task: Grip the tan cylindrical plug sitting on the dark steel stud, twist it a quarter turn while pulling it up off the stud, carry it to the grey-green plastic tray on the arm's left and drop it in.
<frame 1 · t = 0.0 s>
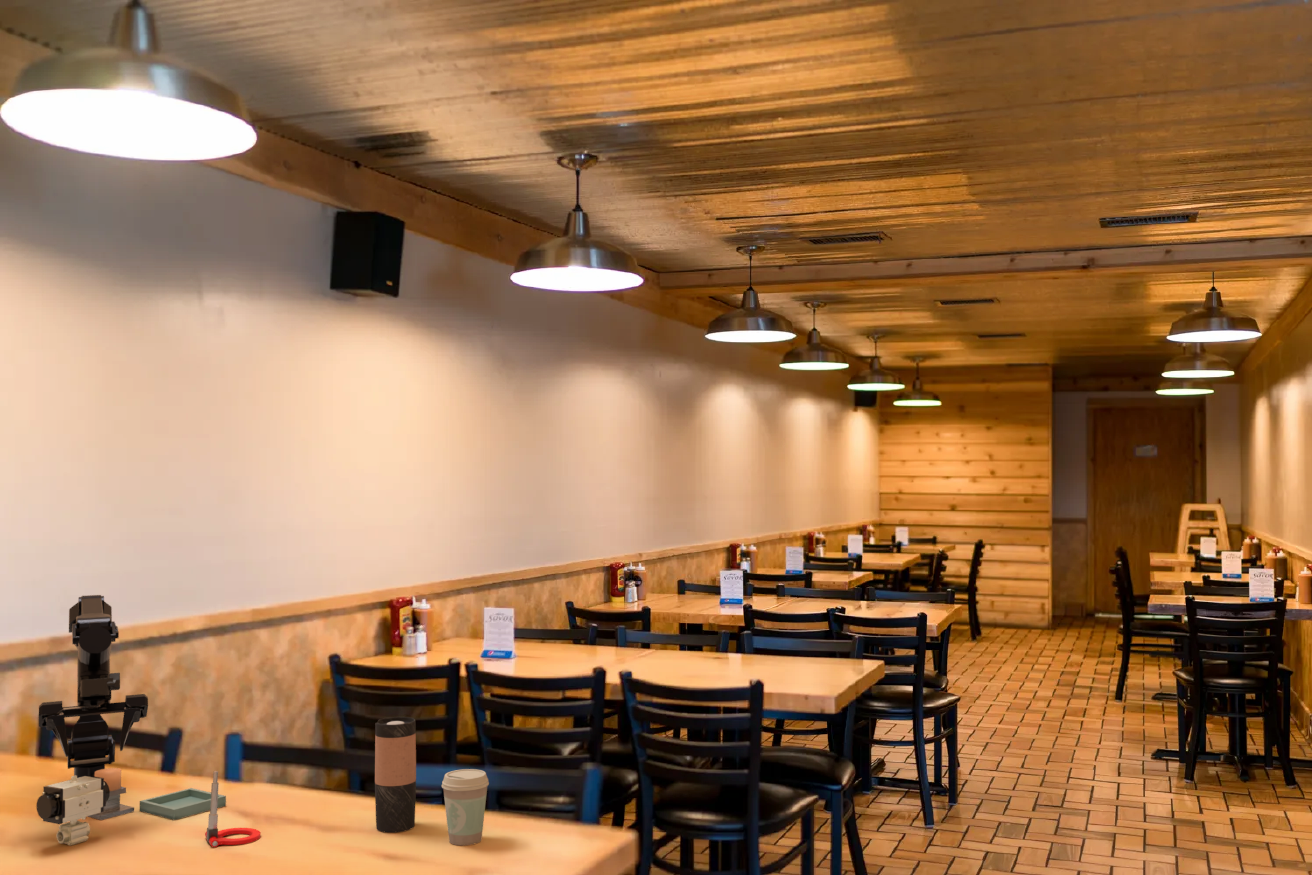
hand: (94, 752, 216), 15 cm above the table, tool tilted 35°, fingers open, 9 cm apart
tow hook: (233, 840, 211), on the table
travel mug: (395, 828, 217), on the table
pneumatic valve: (74, 843, 209), on the table
tan cylindrical plug: (107, 793, 228), point 4 cm above the table, touching stud fixture
bin: (182, 808, 231), on the table
coffee cup: (465, 841, 209), on the table
stud fixture: (107, 812, 228), on the table
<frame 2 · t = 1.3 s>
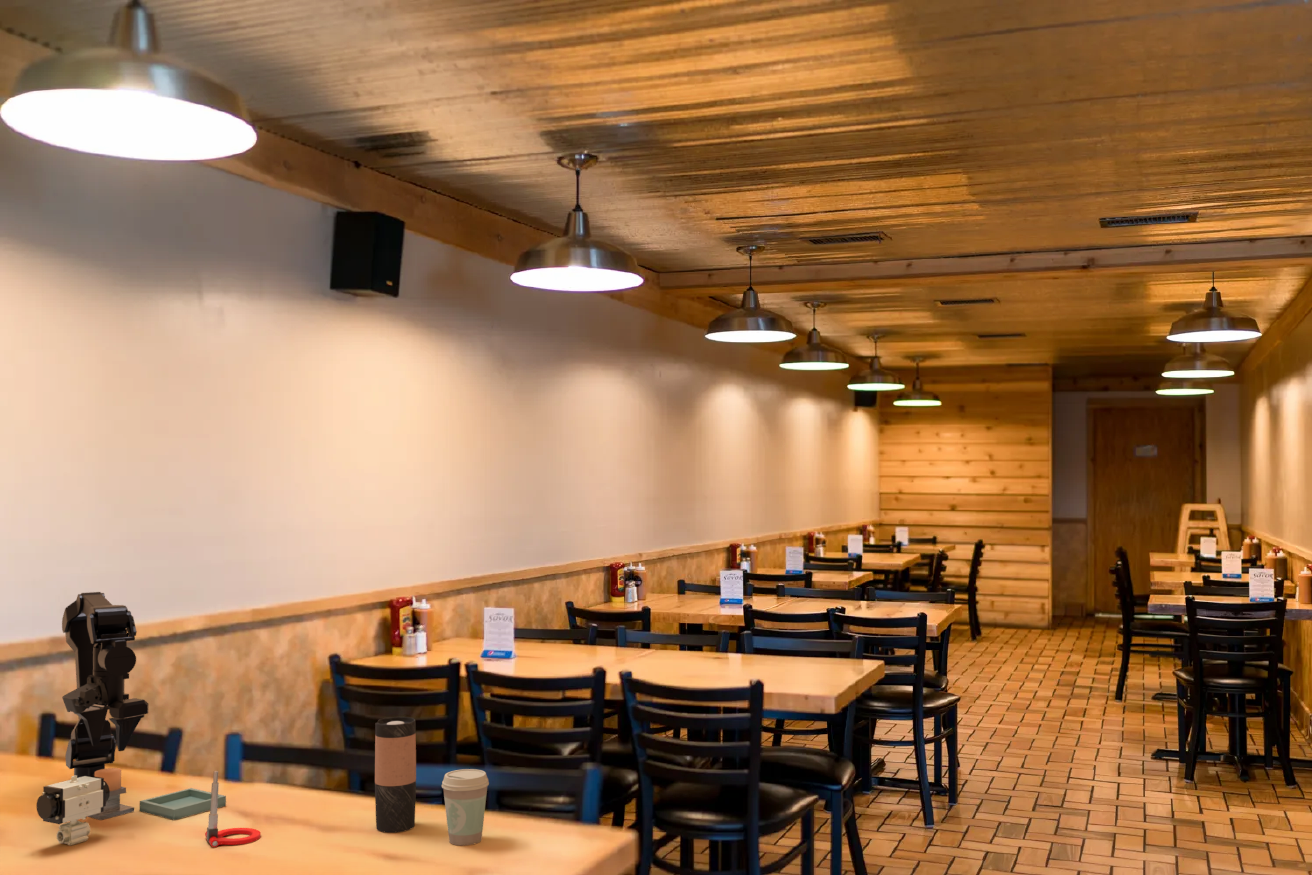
hand: (108, 748, 229), 13 cm above the table, tool pointing down, fingers open, 9 cm apart
nothing on the table moved.
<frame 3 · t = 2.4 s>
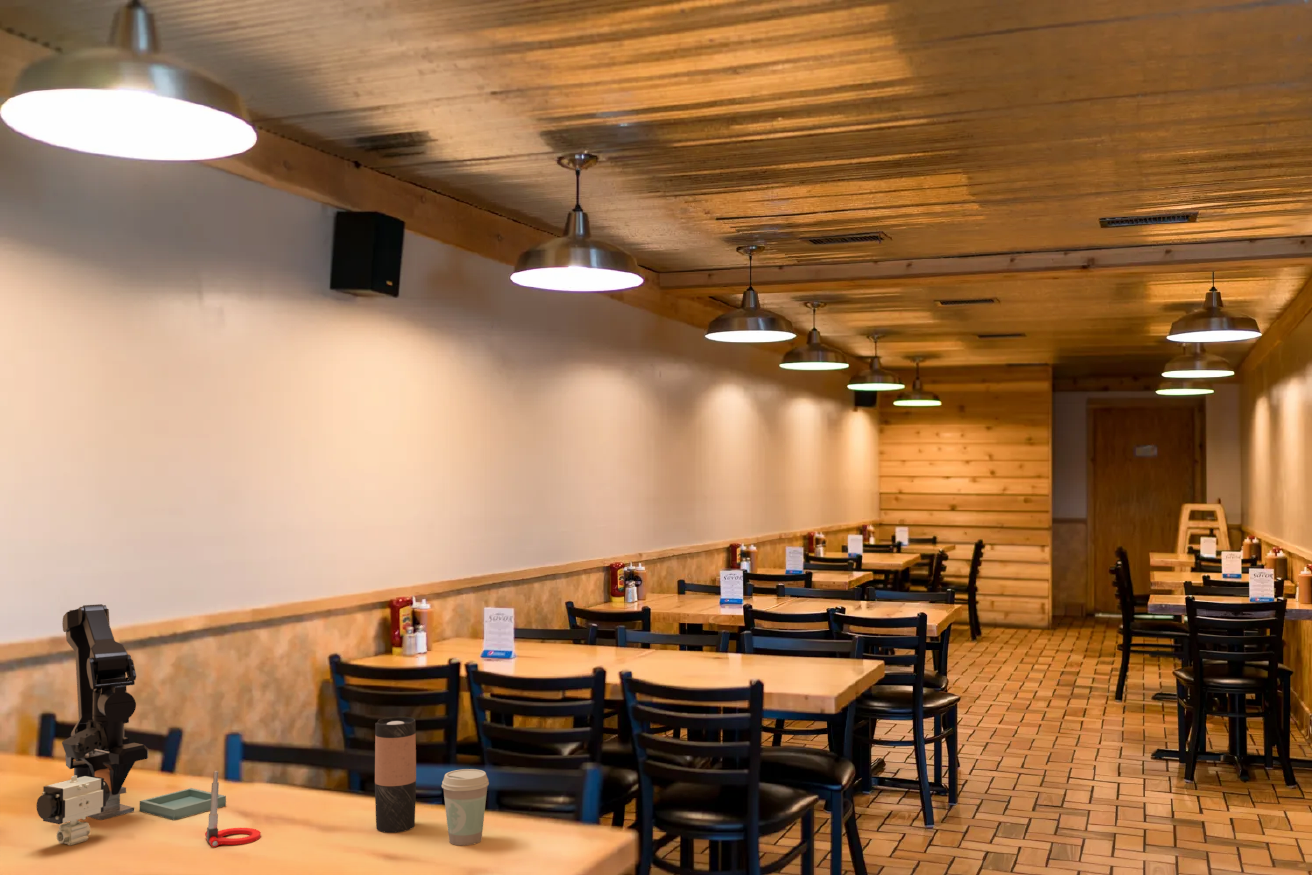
hand: (107, 792, 229), 4 cm above the table, tool pointing down, fingers closed on tan cylindrical plug, 5 cm apart
tan cylindrical plug: (107, 793, 228), point 4 cm above the table, touching gripper, stud fixture
everything else where it was.
when the fingers open (3 cm above the table, at t = 6.9 s): tan cylindrical plug drops 2 cm, resting on bin.
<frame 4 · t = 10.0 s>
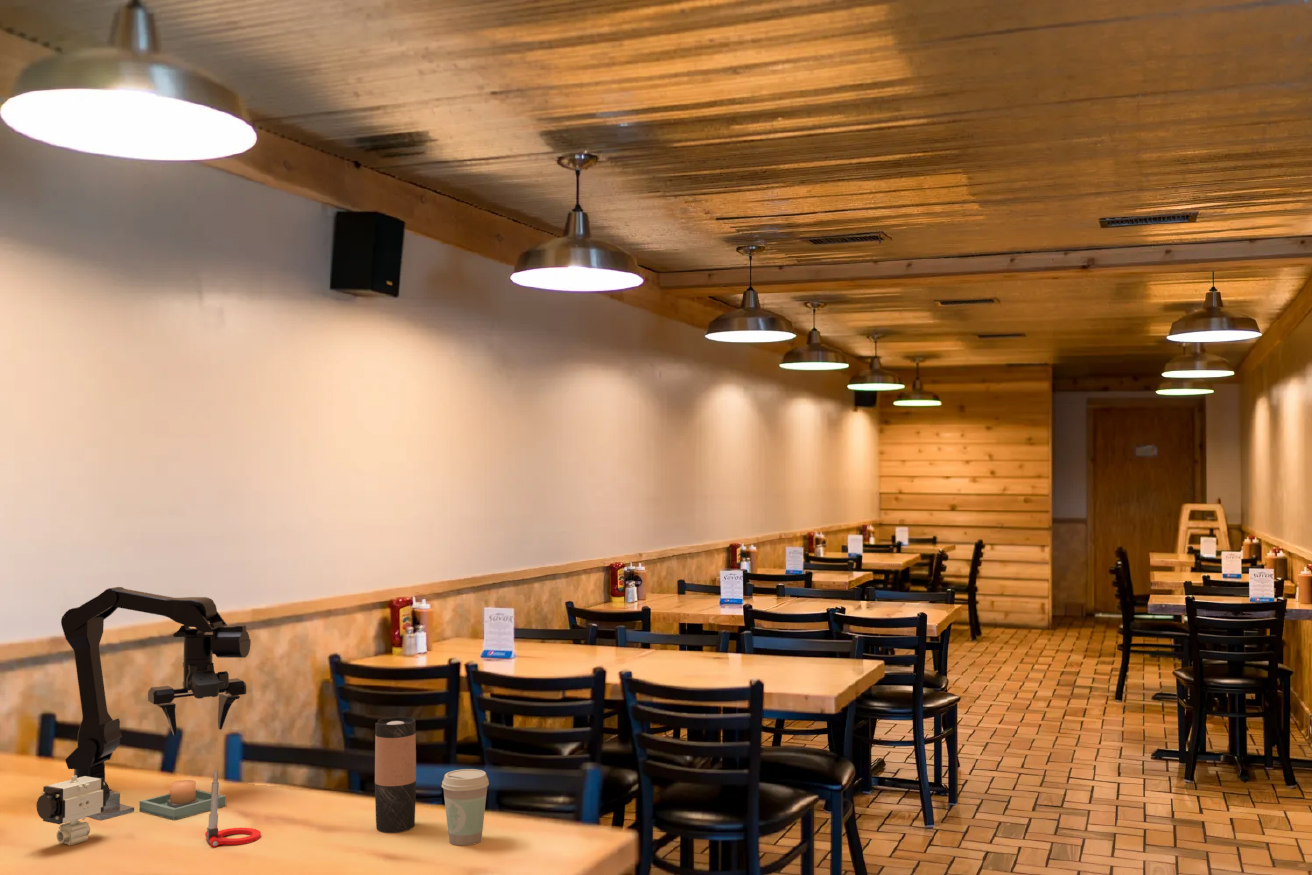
hand: (197, 732, 242), 13 cm above the table, tool pointing down, fingers open, 9 cm apart
tan cylindrical plug: (182, 805, 231), point 1 cm above the table, touching bin
everything else where it was.
at the end: tan cylindrical plug inside the target area on the bin (0.1 cm from its centre), point 0.6 cm above the bin's base; the gripper is holding nothing; tan cylindrical plug touching bin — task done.
